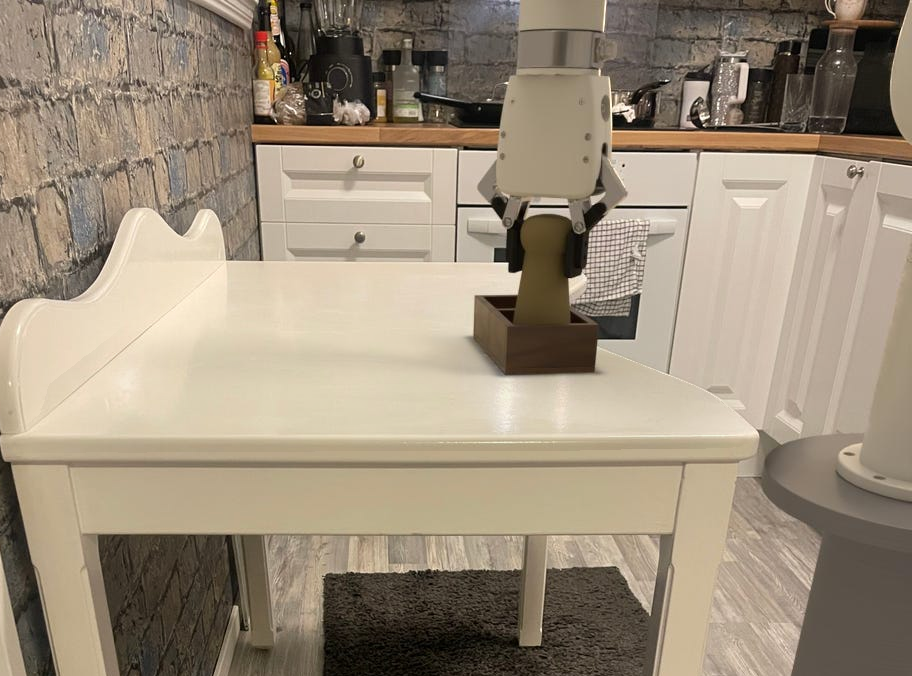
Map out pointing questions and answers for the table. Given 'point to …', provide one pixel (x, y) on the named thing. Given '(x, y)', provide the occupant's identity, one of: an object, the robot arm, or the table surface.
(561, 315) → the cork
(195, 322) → the table surface
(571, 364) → the divided wooden box
